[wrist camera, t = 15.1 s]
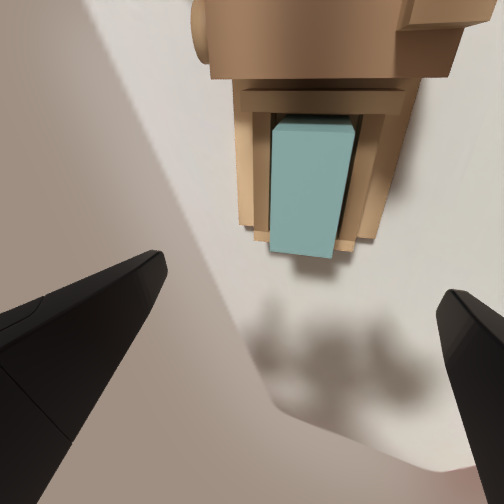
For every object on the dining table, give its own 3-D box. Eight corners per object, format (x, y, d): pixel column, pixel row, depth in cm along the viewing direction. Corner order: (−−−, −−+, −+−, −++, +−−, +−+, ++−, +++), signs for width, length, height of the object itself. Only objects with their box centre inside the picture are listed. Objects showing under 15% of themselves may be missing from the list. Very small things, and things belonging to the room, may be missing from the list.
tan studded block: (439, -24, 12) (541, -106, 6) (413, 73, 14) (471, 79, 8) (216, -7, 14) (137, -57, 8) (221, 75, 16) (161, 81, 10)
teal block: (348, 115, 15) (354, 132, 11) (331, 217, 19) (331, 258, 15) (286, 114, 16) (272, 130, 12) (281, 213, 20) (269, 251, 16)
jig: (481, -156, 10) (527, -224, 8) (373, 231, 20) (379, 254, 17) (229, -116, 12) (204, -160, 10) (242, 219, 22) (231, 238, 19)
